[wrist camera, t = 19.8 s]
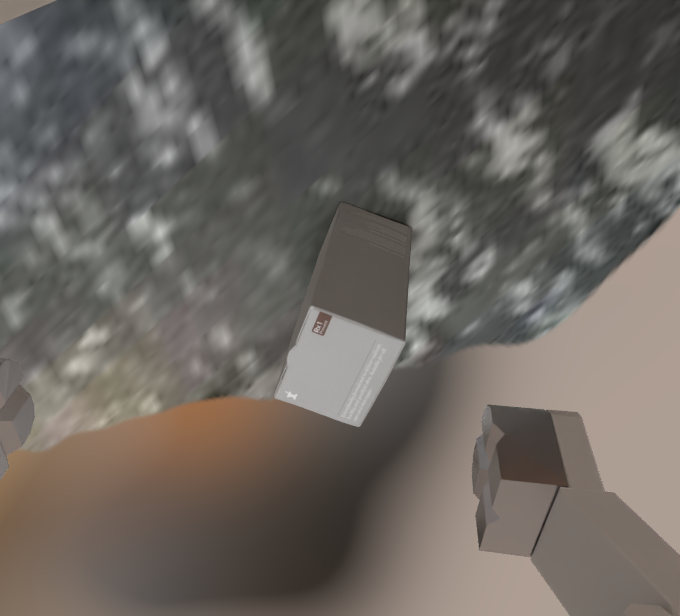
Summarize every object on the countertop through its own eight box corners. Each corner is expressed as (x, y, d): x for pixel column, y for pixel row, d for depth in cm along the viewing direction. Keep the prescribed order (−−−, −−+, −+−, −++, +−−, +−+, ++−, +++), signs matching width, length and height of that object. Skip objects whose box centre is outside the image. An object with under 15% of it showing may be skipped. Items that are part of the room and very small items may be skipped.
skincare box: (378, 301, 55) (368, 437, 42) (301, 274, 54) (267, 405, 41) (417, 222, 50) (419, 349, 37) (333, 191, 49) (306, 311, 36)
